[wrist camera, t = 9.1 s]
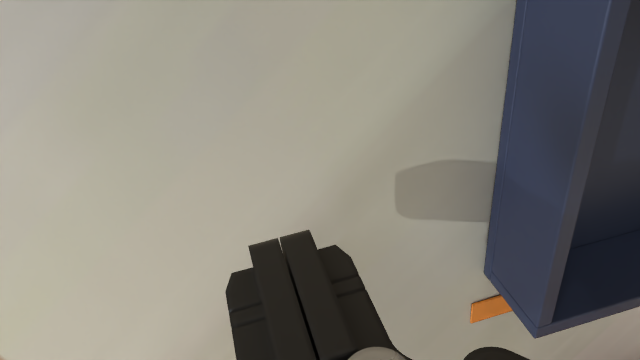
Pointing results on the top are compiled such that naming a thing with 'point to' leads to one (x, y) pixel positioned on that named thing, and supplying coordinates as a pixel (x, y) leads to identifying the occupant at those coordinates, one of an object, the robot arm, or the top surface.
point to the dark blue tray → (569, 165)
